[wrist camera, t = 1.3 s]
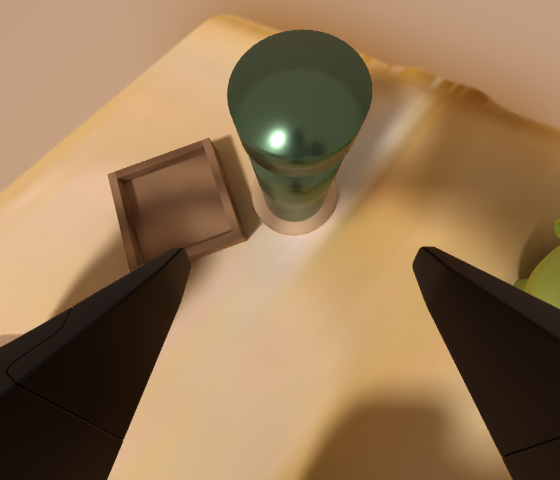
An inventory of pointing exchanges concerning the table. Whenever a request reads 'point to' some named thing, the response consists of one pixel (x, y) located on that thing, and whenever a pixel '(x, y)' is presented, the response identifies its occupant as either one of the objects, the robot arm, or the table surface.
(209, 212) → the walnut tray
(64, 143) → the table surface
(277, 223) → the cork coaster
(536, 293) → the teapot
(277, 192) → the tea canister
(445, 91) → the table surface
